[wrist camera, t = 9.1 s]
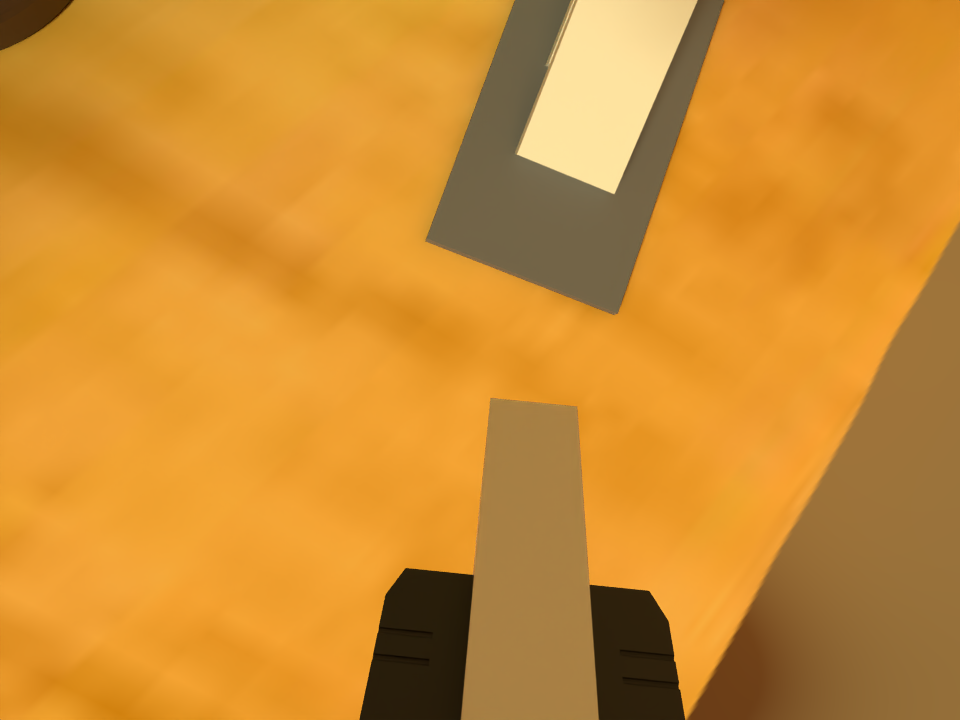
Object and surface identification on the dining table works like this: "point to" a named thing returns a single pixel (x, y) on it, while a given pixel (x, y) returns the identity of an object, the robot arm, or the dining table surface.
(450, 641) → the robot arm
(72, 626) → the dining table surface
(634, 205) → the mat
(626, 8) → the domino
